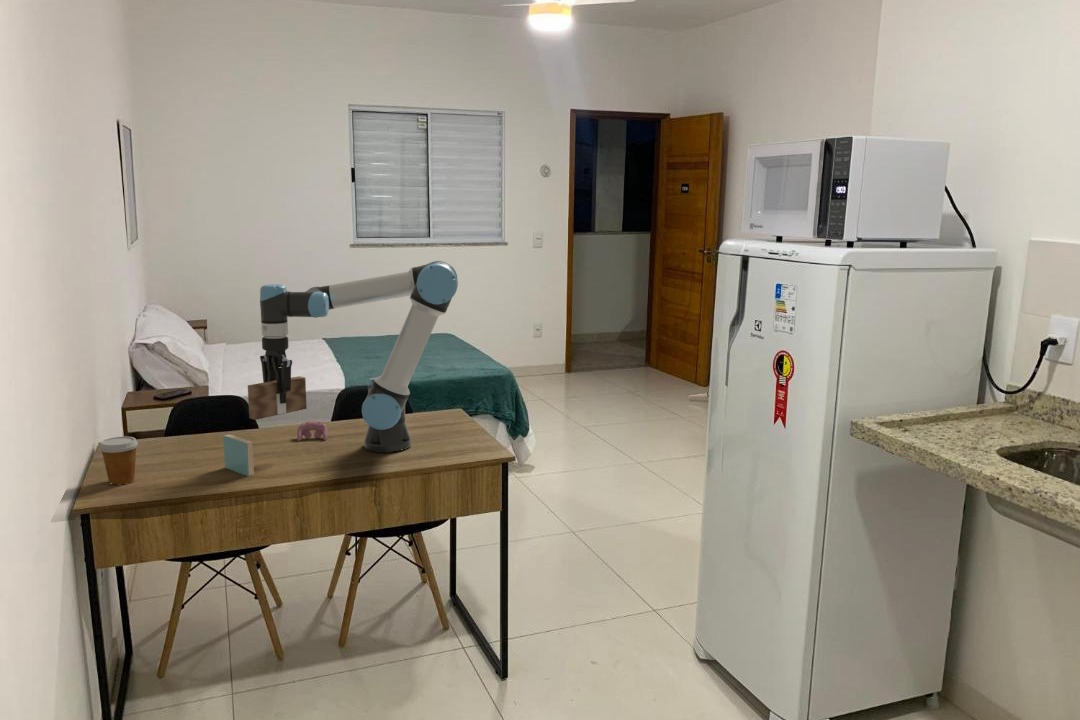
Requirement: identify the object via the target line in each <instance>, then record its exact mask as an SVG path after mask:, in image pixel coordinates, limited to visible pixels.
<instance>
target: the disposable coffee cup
mask: <svg viewBox="0 0 1080 720" xmlns="http://www.w3.org/2000/svg"><path fill="white" fill-rule="evenodd" d="M138 445H139V442H138V441H137V439H136V438H135V437H133V436H116V437H109V438H106V439H104V440H102V441H100V445H99V449H100V451H101V454H102V458H103V462H104V467H105V470H106V475H107V479H108V483H112V484H125V485H127V484H126V483H129V484H132V483H134V481H135V478H136V477H135V476H136V459H137V457H136V456H137V447H138Z"/></svg>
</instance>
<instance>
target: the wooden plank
mask: <svg viewBox="0 0 1080 720" xmlns="http://www.w3.org/2000/svg"><path fill="white" fill-rule="evenodd" d="M306 383H307V382H306V377H304V376H300V375H299V376H293V377H292V376H291V390H290V391H288V392H286V413H283V414H282V415H284V414H289V413H293V412H298V411H302V410H307V409H308V408H307V389H306V388H307V386H306V385H307V384H306ZM276 392H278V388H277V380H275V381H270V382H264V383H263V382H259V383H254V384H253V383H252V384H248V385H247V396H248V397H247V398H248V399H247V400H248V415H249V416H248V417H249V419H251V420H254V421H257V420H260V419H266V418H271V417H275V416H280V415H281V414H279V415H278V414H277V399H276Z"/></svg>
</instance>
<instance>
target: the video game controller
mask: <svg viewBox="0 0 1080 720" xmlns="http://www.w3.org/2000/svg"><path fill="white" fill-rule="evenodd" d="M310 431H314V435H313V436H314V438H315V437H316V439H320V438H321V437H322V438H323V440H324V441H326V440H327V438H328V426H327V424H325V423H324V422H320V421H307V422H302V423H301V424H300V425H299V426H298V428H297V431H296V432H297V434H296V435H297V437H296V439H297V441H298V442H301V441H302V439H303V436H304V438H305V439H307V438H309V439H311V438H312V433H311V432H310ZM310 437H311V438H310ZM300 440H301V441H300Z"/></svg>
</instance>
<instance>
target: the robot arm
mask: <svg viewBox="0 0 1080 720" xmlns="http://www.w3.org/2000/svg"><path fill="white" fill-rule="evenodd" d="M458 283H459V281H458V274H457V272H456V270H455V268H454V267H453V266H452V264H449V263H447V262H446V261H444V260H443V261H441V260H435V261H432V262H428V263H425V264H423V265H419V266H414V267H411V268H410V269H409V270H408V271H404V272H399V273H398V272H397V273H392V274H387V275H381V276H376V277H371V278H364V279H357V280H352V281H347V282H341V283H335V284H331V285H330V284H329V285H325V286H324V285H323V286H314V287H310V288H308V289H307V290H306V291H288V289H287V286H286V285H284V284H279V283H278V284H274V283H273V284H264V285H262V286H261V287H260V289H259V293H260V295H259V305H260V306H259V307H260V322H261V328H260V329H261V336H263V337H262V338H261V348H262V350H263V351H265V354H264V355H260V356H259V360H260V363H261V371H262V380H263V381H262V383H264V382H270V381H275V380H277V388H278V392H276V399H277V414H278V415H277V416H280V415H284V414H283V413H285V414H287V413H286V392H288V391H290V390H291V378H292V365H293V360H292V359H288V358H287V353H286V350H288V349H289V337H288V335H289V325H288V324H289V323H288V318H293V317H295V318H315V319H316V318H325V317H327V316H328V315H329V312H330V311H329V310H334V309H340V308H347V307H351V306H357V305H363V304H370V303H376V302H380V301H386V300H392V299H399V298H403V297H404V298H406V297H409V299H410V301H411V307H410V308H409V312H408V314H407V317H406V318H405V321H404V323H403V325H402V327H401V330H400V332H399V334H398V336H397V338H396V341H395V344H394V346H393V348H392V351H391V353H390V356H389V358H388V359H387V362H386V364H385V366H384V369H383V371H382V374H381V375H379V376H376V377H371V378H369V379H368V383H367V390H368V393H367V396H366V398H365V399H364V401H363V403H362V405H361V414H362V418H363V420H364V421H365V423H366V425H368V427H367V430H366V434H365V436H364V439H363V440H364V442H363V444H364V445H363V446H364V447H365V448H366V449H365V448H364V449H365V450H367V451H369V450H370V452H373V451H375V452H374V453H383V452H386V453H393V452H392V451H397V452H399V451H398V450H401V449H405V448H407V447H409V446H410V445H411V446H412V439H411V436H410V432H409V429H408V427H407V424H406V403H407V401H408V398H409V397H410V394H411V392H410V389H409V387H408V386H409V384H410V382H411V380H412V378H413V375H414V373H415V370H416V368H417V366H418V364H419V361H420V360H421V357H422V355H423V353H424V350H425V348H426V346H427V343H428V341H429V339H430V337H431V334H432V332H433V330H434V328H435V325H436V323H437V320H438V318H439V317H440V316H442V315H445V314H446V312H447V311H448V308H449V306H450V303H451V301H452V299H453V297H454V296H455V295H456V292H457V290H458V285H459V284H458ZM279 414H280V415H279ZM411 446H410V447H411ZM410 447H409V448H410ZM405 450H406V449H405Z"/></svg>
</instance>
